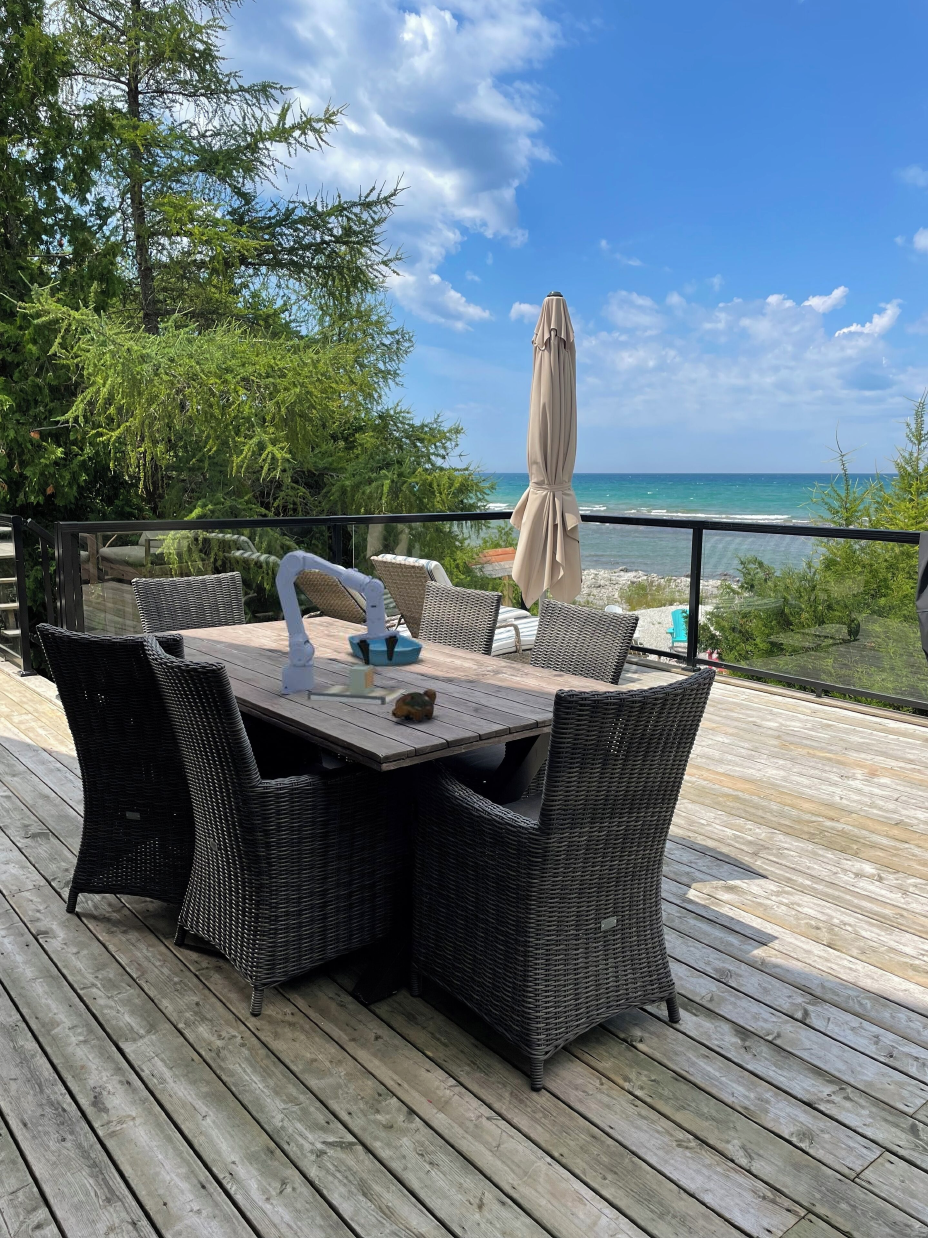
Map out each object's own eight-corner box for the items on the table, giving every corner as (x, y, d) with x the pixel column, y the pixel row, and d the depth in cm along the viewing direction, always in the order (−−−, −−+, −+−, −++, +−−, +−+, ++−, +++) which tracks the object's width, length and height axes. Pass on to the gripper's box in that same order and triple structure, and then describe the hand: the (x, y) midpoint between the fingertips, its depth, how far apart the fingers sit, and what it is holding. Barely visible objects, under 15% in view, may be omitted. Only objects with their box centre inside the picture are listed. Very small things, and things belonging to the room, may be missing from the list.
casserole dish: (431, 665, 328) (431, 645, 327) (372, 670, 319) (372, 650, 318) (395, 648, 361) (395, 631, 360) (341, 652, 352) (340, 634, 351)
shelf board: (310, 703, 269) (310, 698, 269) (334, 690, 286) (334, 685, 286) (386, 708, 263) (386, 703, 263) (406, 694, 280) (406, 689, 280)
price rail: (307, 704, 268) (307, 692, 267) (309, 703, 269) (309, 691, 268) (384, 709, 261) (384, 697, 261) (385, 708, 263) (385, 696, 262)
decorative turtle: (446, 717, 253) (446, 690, 251) (408, 731, 242) (407, 703, 241) (421, 709, 260) (421, 683, 258) (383, 723, 249) (382, 695, 247)
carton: (349, 694, 274) (349, 668, 273) (358, 689, 280) (357, 664, 279) (365, 695, 272) (365, 669, 271) (374, 690, 279) (373, 665, 278)
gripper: (359, 623, 271) (362, 667, 273) (402, 617, 278) (405, 661, 280) (350, 620, 277) (353, 664, 279) (393, 615, 284) (395, 657, 286)
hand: (378, 662), depth 280 cm, fingers open, 7 cm apart
